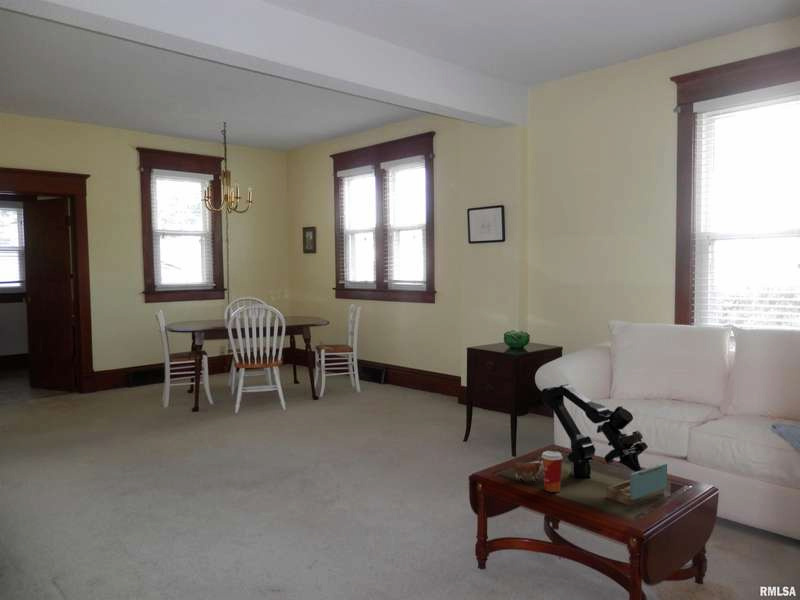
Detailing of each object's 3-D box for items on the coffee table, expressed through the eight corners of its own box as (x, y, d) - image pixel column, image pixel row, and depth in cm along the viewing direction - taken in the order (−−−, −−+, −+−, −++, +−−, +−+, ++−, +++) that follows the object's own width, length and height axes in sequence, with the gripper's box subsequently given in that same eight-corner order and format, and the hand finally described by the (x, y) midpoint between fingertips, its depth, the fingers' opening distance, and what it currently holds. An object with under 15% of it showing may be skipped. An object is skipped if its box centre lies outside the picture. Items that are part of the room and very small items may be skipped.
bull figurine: (547, 483, 236) (547, 462, 236) (512, 481, 239) (512, 460, 239) (547, 479, 241) (547, 459, 240) (512, 477, 243) (512, 457, 243)
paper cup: (543, 485, 234) (543, 449, 233) (564, 487, 231) (563, 451, 230) (540, 492, 227) (539, 455, 226) (561, 495, 224) (561, 457, 223)
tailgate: (630, 499, 213) (630, 473, 212) (664, 487, 224) (664, 462, 223) (633, 500, 212) (633, 474, 211) (668, 488, 222) (668, 463, 222)
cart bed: (606, 496, 221) (606, 487, 221) (640, 485, 232) (640, 476, 232) (629, 505, 213) (629, 495, 213) (663, 492, 224) (663, 483, 224)
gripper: (611, 428, 219) (637, 466, 210) (643, 420, 229) (670, 456, 220) (593, 444, 226) (618, 482, 217) (625, 436, 236) (650, 472, 227)
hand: (640, 473), depth 220 cm, fingers closed
